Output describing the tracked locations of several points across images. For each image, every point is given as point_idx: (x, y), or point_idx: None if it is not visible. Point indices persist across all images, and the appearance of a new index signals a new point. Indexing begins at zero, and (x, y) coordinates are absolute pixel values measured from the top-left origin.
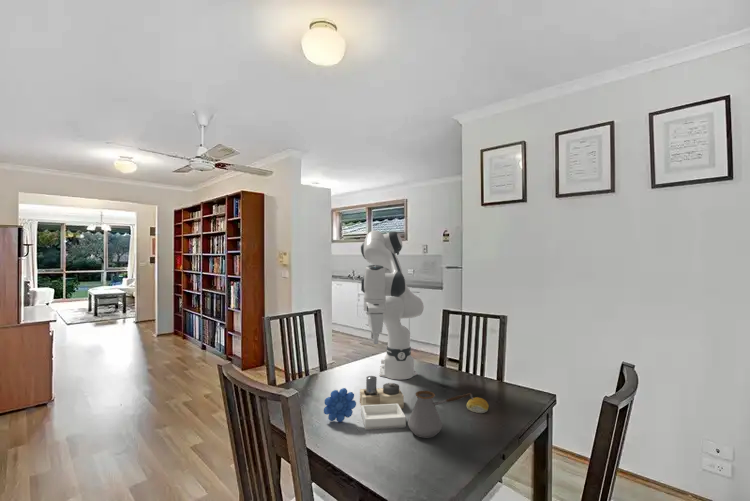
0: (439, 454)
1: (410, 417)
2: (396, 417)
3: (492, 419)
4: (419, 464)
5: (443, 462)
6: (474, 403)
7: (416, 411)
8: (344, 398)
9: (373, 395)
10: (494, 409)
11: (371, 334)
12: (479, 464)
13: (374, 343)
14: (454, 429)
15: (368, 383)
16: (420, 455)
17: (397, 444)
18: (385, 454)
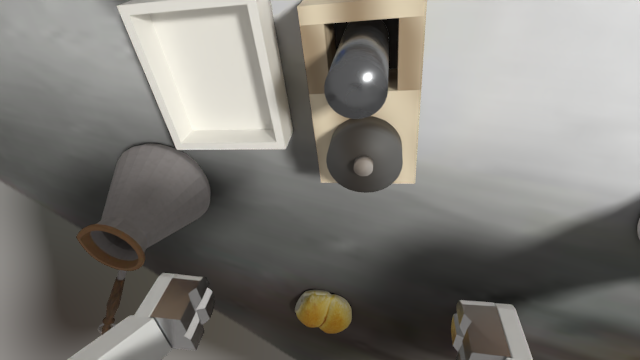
0: (82, 173)
1: (141, 163)
2: (166, 122)
3: (267, 304)
4: (21, 125)
5: (54, 171)
6: (304, 311)
7: (113, 190)
8: None
9: (325, 66)
10: None
11: (479, 354)
12: (77, 223)
13: (164, 278)
14: (206, 233)
15: (334, 60)
16: (59, 136)
17: (86, 93)
18: (21, 51)
